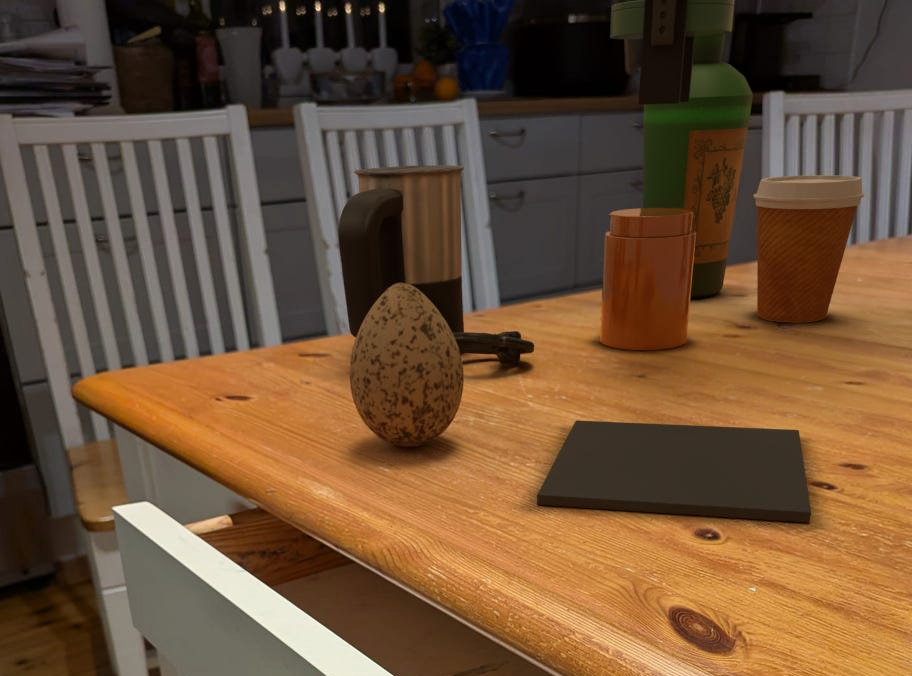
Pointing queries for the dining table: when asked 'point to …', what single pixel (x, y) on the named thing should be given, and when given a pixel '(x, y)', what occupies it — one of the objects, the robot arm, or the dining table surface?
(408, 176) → the milk frother
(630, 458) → the mat
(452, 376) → the decorative egg
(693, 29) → the jar lid
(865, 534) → the dining table surface
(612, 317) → the jam jar
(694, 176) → the bottle
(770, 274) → the disposable coffee cup
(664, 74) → the robot arm
